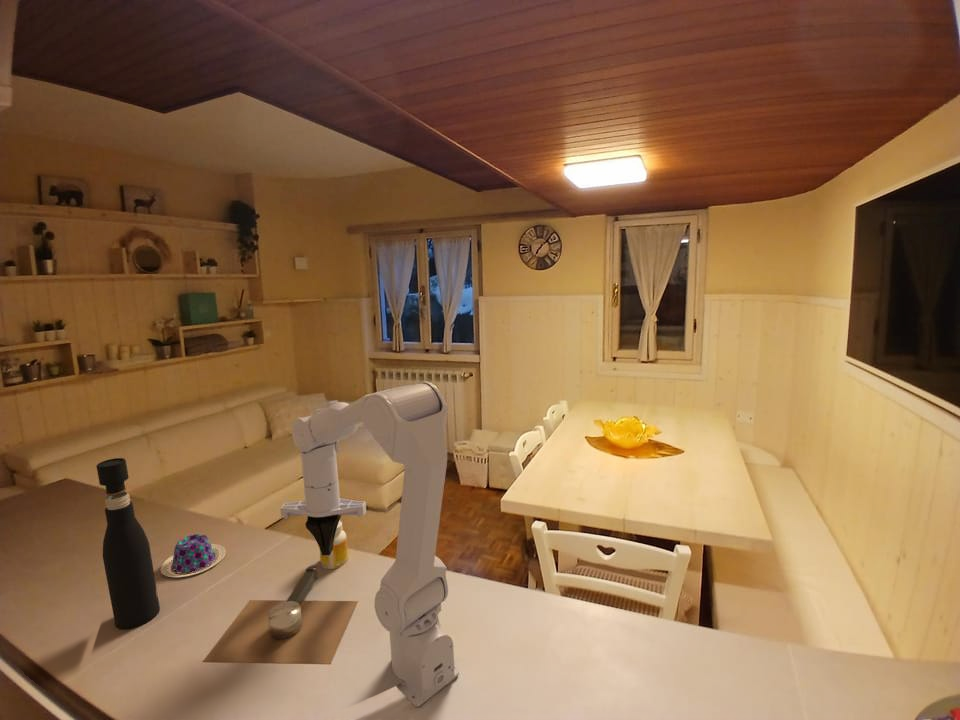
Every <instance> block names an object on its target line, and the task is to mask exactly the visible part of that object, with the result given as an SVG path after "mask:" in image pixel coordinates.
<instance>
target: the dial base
mask: <svg viewBox="0 0 960 720" xmlns="http://www.w3.org/2000/svg"><path fill="white" fill-rule="evenodd" d="M286 601H287V599H285V600H283V599H282V600H280V599H278V600H277V599H276V600H275V599H271V600H270V599H268V600H265V599H263V600H262V599H253V600H252V599H249V600H248V601H247V603H246V604H245V606H244V607H243V608H242V609H241V611H240V612H239V614H238V615H237V616H236V617H235V618H234V620H233V621H232V623H231V624H230V625H229V627H228V628H227V629H226V631H225V632H224V633H223V634H222V635H221V637H220V638H219V640H217V642H216V643H215V644H214V646H213V648H211V649H210V651H209V653H207V655H206V656H205V658H204V659H203V660H202V663H238V664H239V663H240V664H242V663H246V664H248V663H250V664H301V665H302V664H303V665H309V664H311V665H312V664H313V665H331V664H332V662H333V660H334V658H335V655H336V653H337V651H338V648H339V646H340V644H341V642H342V639H343V637H344V635H345V633H346V630H347V627H348V626H349V623H350V620H351V619H352V616H353V614H354V612H355V609H356V607H357V605H358V603H359V600H303V602H302V604H301V605H300V607H301V616H302V627H301V628H300V630H299V631H298V632H297V633H295V634H294V635H292V636H290V637H287V638H283V639H277V638H274V637H272V636H271V634H270V629H269V620H268V614H269V612H270V610H271V609H272V608H273V607H275V606H276V605H278V604H280V603H283V602H286Z"/></svg>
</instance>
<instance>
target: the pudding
mask: <svg viewBox="0 0 960 720" xmlns="http://www.w3.org/2000/svg"><path fill="white" fill-rule="evenodd" d="M213 548H214V549H215V548H216V549H218V551H219V557H218V560H216V562H215V563H213V562H214V561H215V560H214V559H215V557H217V555H216V553H215V552H214V550H213ZM226 553H227V552H226V549H225V546H223V545H220V544H215V543H211V542H210V540H209V538H208V537H207V535H205V534H200V533H196V534H193V535H192V534H191V535H187V536H185V537H184V538H181V539H180V540H178V541H177V543H176V544H175V547H174V551H173V555H171V556H169V557H168V558H166V560H165V561H164V562H163V563H162V565H161V567H160V573H161V574H162V575H164V576H165V577H169V578H184V577H189V576H193V575H197V574H199V573H203V572H205V571H208V570H209V569H210V568H212V567H214V566H216V565H217V564H218V563H220V562H221V561H222V560H223V559H224V557H225V555H226ZM171 560H173V563H172V567H171V569H176V570H175V573H176V572H184V573H187V572H191V573H192V571H195V570H197V569H198V568H201V569H203V568H202V567H205V566H207V565H208V564H211V562H210V561H212V563H213V564H212V565H211V566H210V567H208V568H206V569H204V570H202V571H199V572H196V573H192V574H187V575H173V574H170V573H169V572H168V571H167V569H168V568H167V567H168V566H167V565H168V564H169V562H171ZM213 560H214V561H213ZM208 566H209V565H208ZM198 570H199V569H198ZM198 570H197V571H198ZM185 571H187V572H185Z"/></svg>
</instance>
